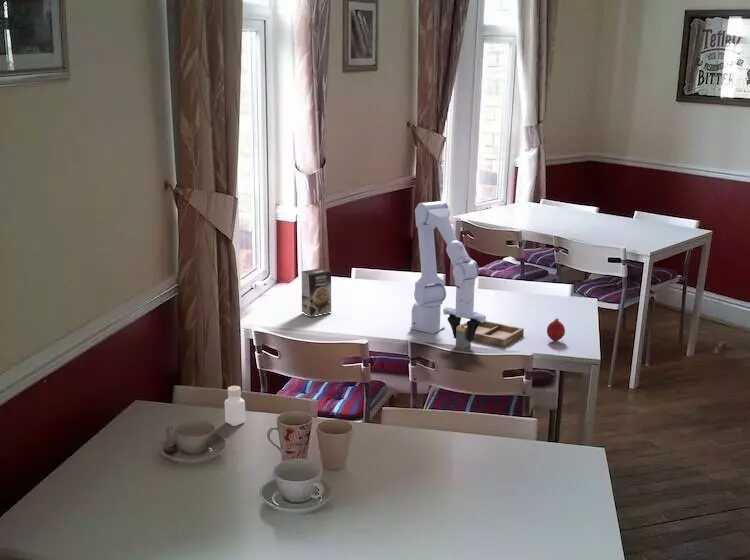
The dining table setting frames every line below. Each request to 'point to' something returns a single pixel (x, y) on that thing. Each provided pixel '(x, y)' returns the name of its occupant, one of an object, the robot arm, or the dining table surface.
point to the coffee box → (316, 291)
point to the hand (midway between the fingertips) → (463, 339)
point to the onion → (555, 330)
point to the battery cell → (462, 336)
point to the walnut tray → (497, 333)
